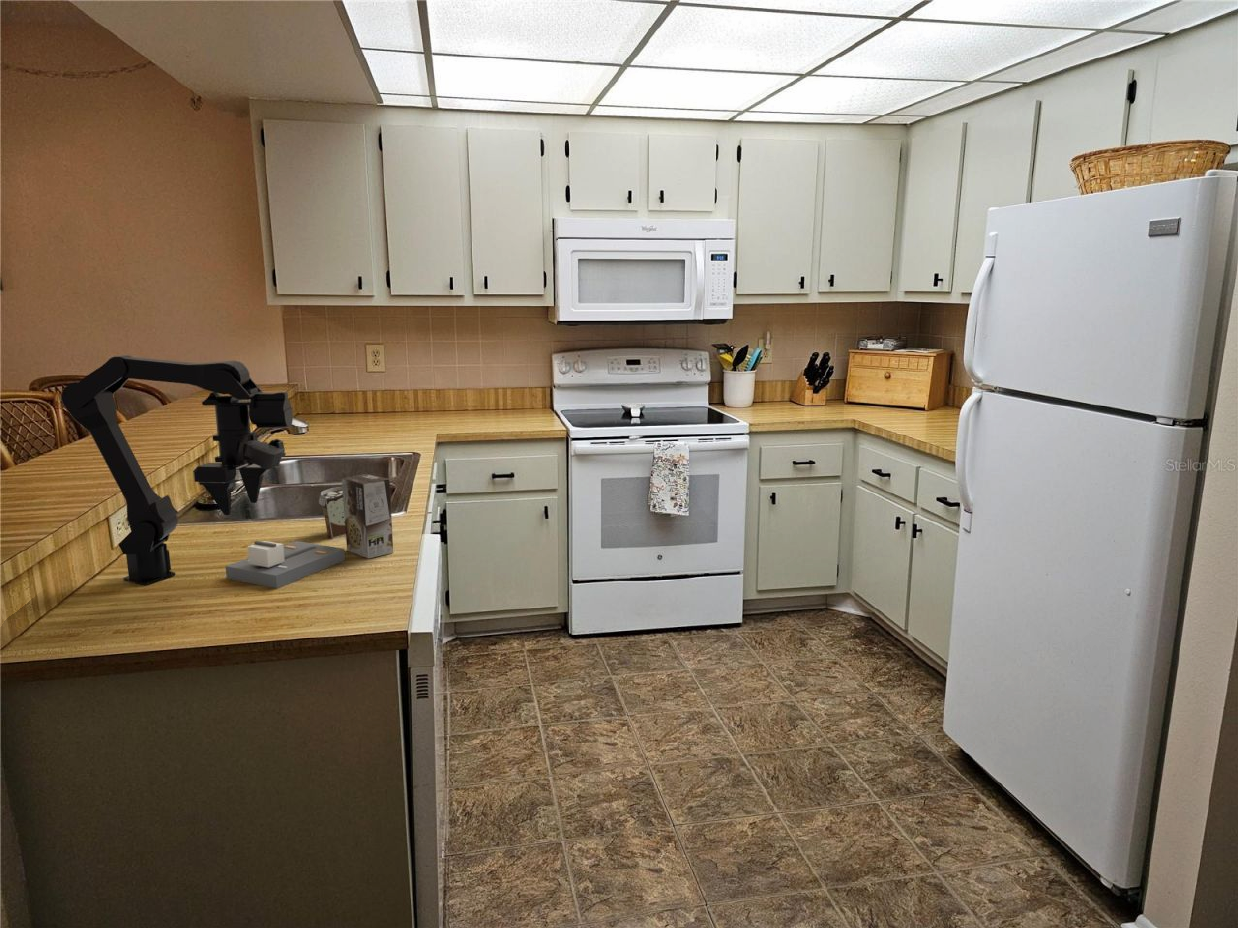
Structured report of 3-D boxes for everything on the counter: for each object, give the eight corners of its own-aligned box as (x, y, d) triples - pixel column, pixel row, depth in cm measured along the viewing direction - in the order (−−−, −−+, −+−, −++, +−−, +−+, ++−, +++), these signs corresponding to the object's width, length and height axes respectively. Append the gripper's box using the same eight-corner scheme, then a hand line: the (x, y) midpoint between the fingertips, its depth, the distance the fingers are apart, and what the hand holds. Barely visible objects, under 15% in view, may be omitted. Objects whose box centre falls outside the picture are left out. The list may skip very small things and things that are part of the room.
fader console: (277, 588, 151) (276, 574, 150) (226, 578, 156) (225, 565, 155) (345, 560, 167) (344, 547, 167) (297, 552, 172) (296, 540, 172)
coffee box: (394, 552, 172) (391, 478, 169) (367, 559, 168) (363, 483, 165) (372, 543, 179) (368, 472, 175) (345, 550, 174) (340, 477, 171)
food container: (355, 523, 194) (353, 483, 192) (371, 528, 191) (369, 486, 189) (310, 535, 184) (306, 492, 182) (326, 540, 181) (323, 496, 179)
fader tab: (268, 567, 154) (266, 547, 153) (249, 563, 156) (247, 543, 155) (284, 561, 157) (283, 541, 156) (265, 557, 159) (263, 538, 158)
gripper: (247, 437, 142) (254, 523, 146) (298, 422, 161) (304, 498, 164) (187, 436, 143) (196, 521, 147) (245, 420, 162) (252, 496, 165)
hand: (241, 508), depth 155 cm, fingers open, 9 cm apart
